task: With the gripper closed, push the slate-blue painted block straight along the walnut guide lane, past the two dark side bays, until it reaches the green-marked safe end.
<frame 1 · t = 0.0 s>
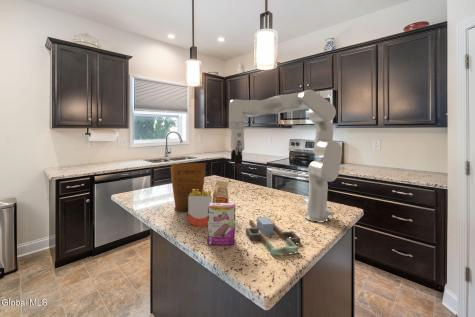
hand: (236, 162, 117), 31 cm above the countertop, tool pointing down, fingers open, 9 cm apart
french fries container: (200, 224, 119), on the countertop
milk carton: (220, 215, 133), on the countertop
candy bar box: (221, 243, 99), on the countertop
pancake mix bag: (188, 211, 139), on the countertop
lane: (269, 236, 106), on the countertop
block: (264, 230, 113), resting in lane
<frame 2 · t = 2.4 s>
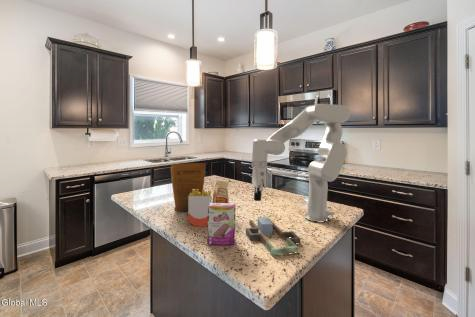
hand: (257, 200, 121), 12 cm above the countertop, tool pointing down, fingers closed
nothing on the countertop moved.
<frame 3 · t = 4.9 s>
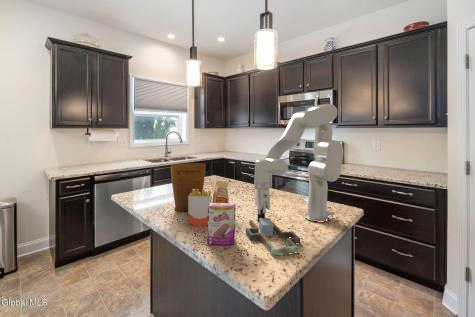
hand: (261, 221, 118), 2 cm above the countertop, tool pointing down, fingers closed
block: (265, 231, 112), resting in lane, touching gripper
everything else where it was.
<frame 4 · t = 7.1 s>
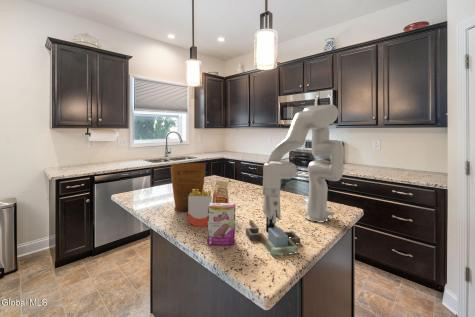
hand: (270, 232, 106), 2 cm above the countertop, tool pointing down, fingers closed
block: (277, 243, 100), resting in lane, touching gripper
everything else where it was.
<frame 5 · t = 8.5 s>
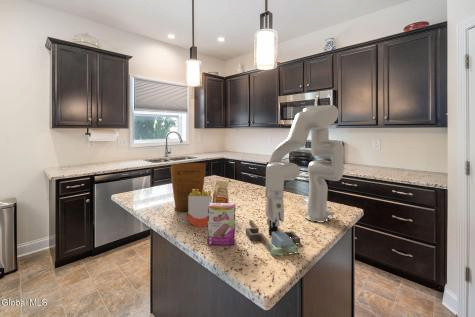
hand: (272, 235, 103), 2 cm above the countertop, tool pointing down, fingers closed
block: (281, 247, 97), resting in lane
everything else where it was.
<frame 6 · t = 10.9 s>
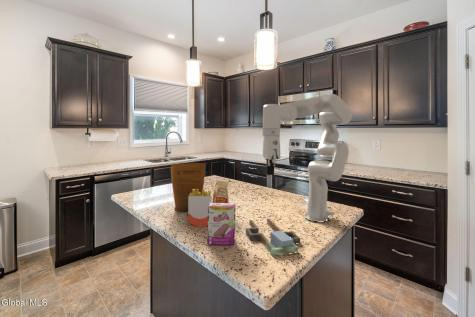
hand: (270, 174, 107), 27 cm above the countertop, tool pointing down, fingers closed
nothing on the countertop moved.
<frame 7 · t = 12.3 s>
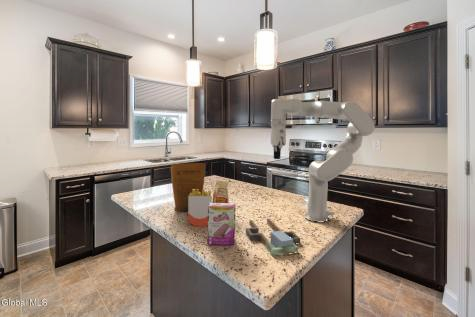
hand: (276, 158, 127), 32 cm above the countertop, tool pointing down, fingers closed
nothing on the countertop moved.
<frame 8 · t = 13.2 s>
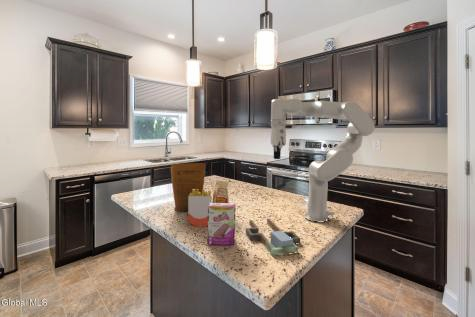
hand: (276, 158, 127), 32 cm above the countertop, tool pointing down, fingers closed
nothing on the countertop moved.
at the end: block inside the target area (1.1 cm from its centre), resting in lane; block moved 17.2 cm from its start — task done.
